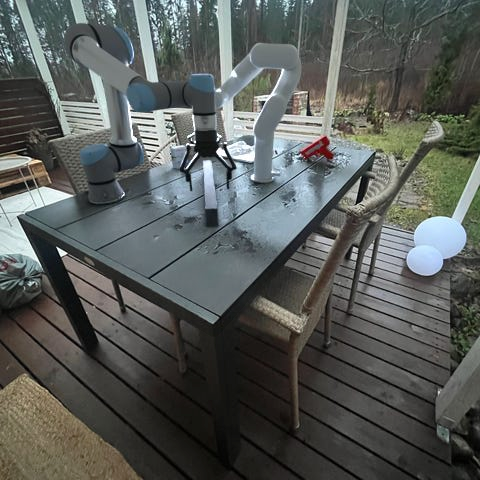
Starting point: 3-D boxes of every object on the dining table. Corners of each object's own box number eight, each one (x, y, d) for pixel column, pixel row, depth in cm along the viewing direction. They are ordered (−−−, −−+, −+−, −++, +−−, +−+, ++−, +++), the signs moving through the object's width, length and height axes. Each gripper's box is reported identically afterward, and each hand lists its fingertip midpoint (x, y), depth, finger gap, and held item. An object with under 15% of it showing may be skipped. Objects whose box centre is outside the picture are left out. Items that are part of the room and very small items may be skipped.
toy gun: (337, 154, 172) (326, 134, 168) (337, 156, 169) (325, 135, 165) (312, 169, 182) (300, 150, 178) (311, 171, 179) (299, 152, 175)
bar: (204, 173, 155) (203, 160, 151) (212, 173, 155) (211, 160, 151) (206, 226, 104) (205, 209, 100) (218, 225, 104) (217, 208, 100)
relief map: (251, 162, 170) (251, 154, 168) (209, 154, 188) (209, 146, 185) (273, 153, 189) (273, 145, 186) (233, 146, 206) (233, 139, 204)
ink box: (184, 164, 169) (181, 144, 163) (188, 165, 166) (186, 146, 160) (172, 167, 164) (169, 147, 158) (176, 169, 161) (174, 148, 155)
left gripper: (165, 132, 85) (175, 194, 97) (244, 129, 88) (244, 190, 99) (168, 127, 92) (176, 186, 103) (241, 125, 94) (241, 183, 106)
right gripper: (185, 119, 130) (188, 155, 139) (221, 119, 132) (222, 155, 141) (186, 117, 136) (189, 151, 146) (220, 117, 138) (221, 151, 148)
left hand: (209, 189), depth 101 cm, fingers open, 13 cm apart
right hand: (205, 153), depth 144 cm, fingers open, 9 cm apart
